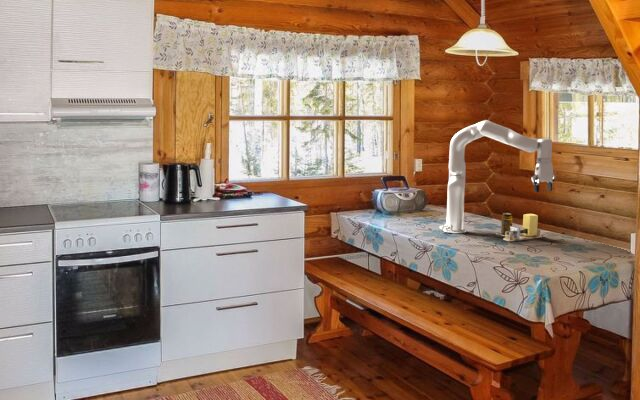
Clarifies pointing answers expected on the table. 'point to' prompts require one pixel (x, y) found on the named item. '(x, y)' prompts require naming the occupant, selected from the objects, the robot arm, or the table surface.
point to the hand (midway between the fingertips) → (543, 191)
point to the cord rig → (510, 236)
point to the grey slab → (517, 232)
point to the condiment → (505, 223)
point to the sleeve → (530, 224)
